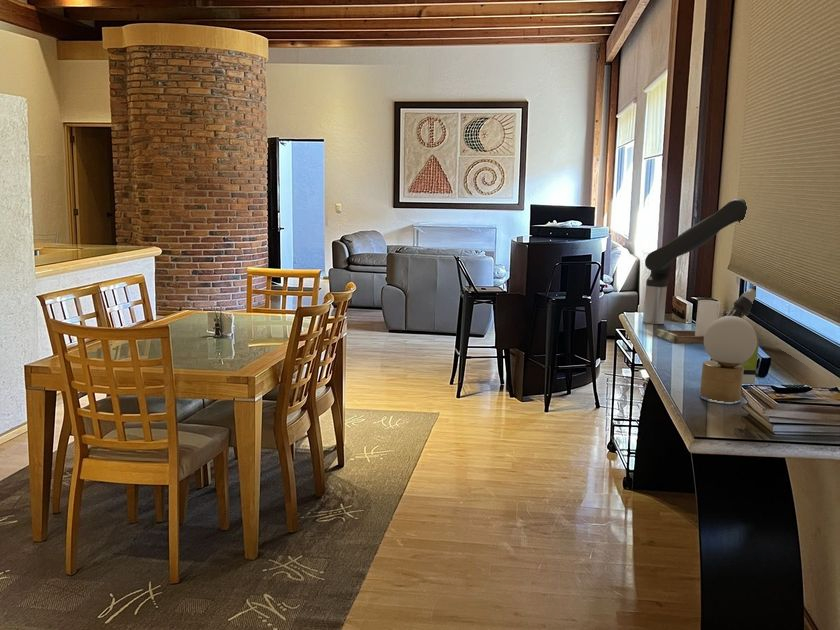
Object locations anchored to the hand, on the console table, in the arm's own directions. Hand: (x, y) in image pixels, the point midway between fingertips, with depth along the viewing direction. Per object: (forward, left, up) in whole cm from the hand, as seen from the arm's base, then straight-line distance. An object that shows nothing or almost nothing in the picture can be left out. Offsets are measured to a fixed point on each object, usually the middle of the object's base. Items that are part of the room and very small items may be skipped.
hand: (718, 330), depth 330 cm
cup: (0, -6, -4) cm, 7 cm away
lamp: (+94, -55, -4) cm, 109 cm away
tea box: (+69, -37, -4) cm, 78 cm away
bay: (0, -12, -4) cm, 12 cm away
